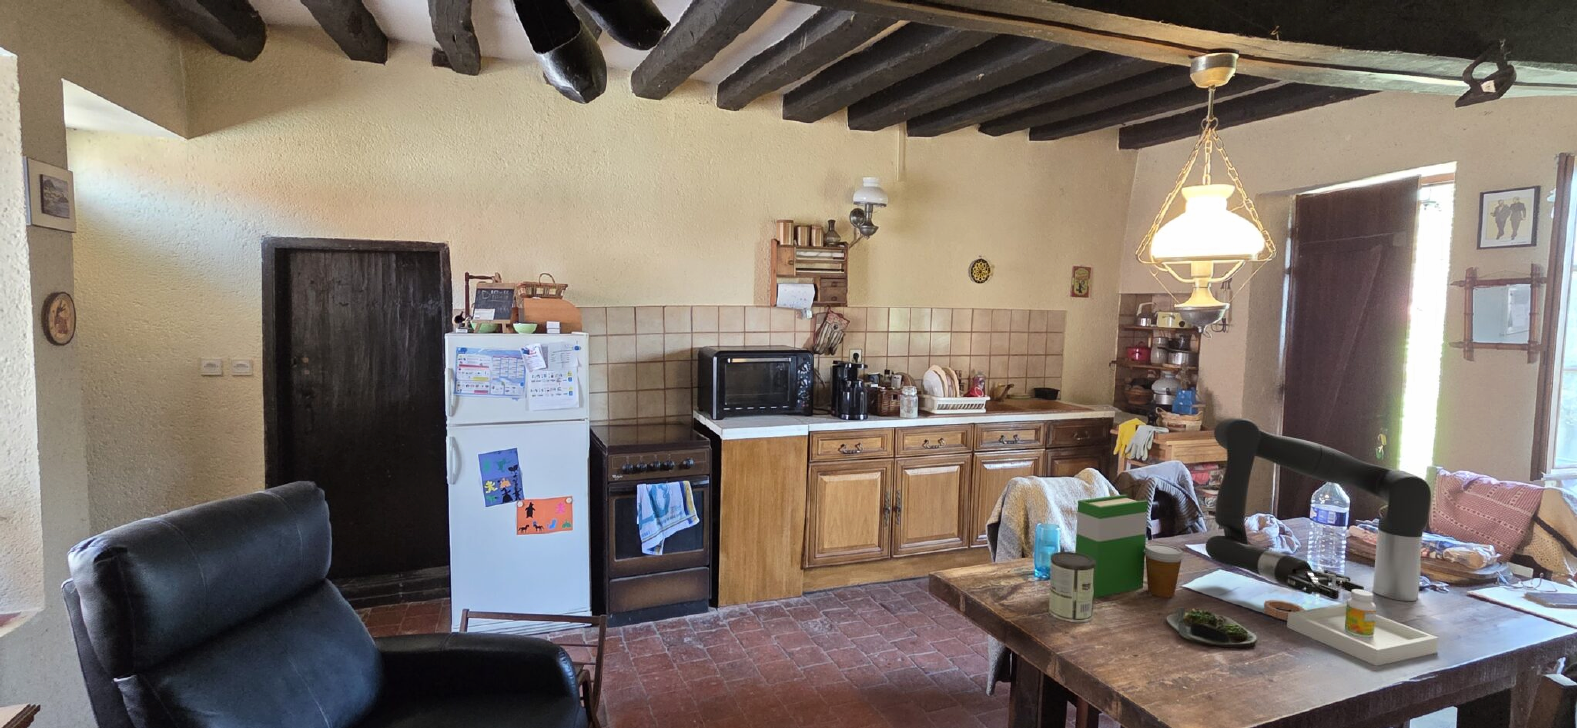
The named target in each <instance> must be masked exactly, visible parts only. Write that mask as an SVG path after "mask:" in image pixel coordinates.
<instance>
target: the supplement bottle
mask: <svg viewBox="0 0 1577 728" xmlns="http://www.w3.org/2000/svg"><path fill="white" fill-rule="evenodd" d="M1350 595H1351V597H1350V598H1348V599H1347V600H1346V603H1347V606H1346V619H1345V630H1346V631H1347V632H1348V633H1350V634H1352V635H1355V636H1359V637H1364V638H1369V637H1373V635H1374V627H1375V615H1376V614H1377V607H1376V604H1375V603H1374V602H1373V600H1374V593H1372V592H1371V591H1368V590H1365V589H1364V590H1360V589H1353V590H1352V591H1351V592H1350Z"/></svg>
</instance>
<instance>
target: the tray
mask: <svg viewBox="0 0 1577 728" xmlns="http://www.w3.org/2000/svg"><path fill="white" fill-rule="evenodd" d="M1346 606H1347V602H1345V603H1340V604H1333V605H1327V606H1324V607H1323V606H1322V607H1316V608H1310V609H1305V610H1303V611H1297V612H1292V611H1291V612H1292V613H1288V620H1286V621H1287V622H1286V628H1288V629H1290V630H1292V631H1295V632H1297V633H1299V634H1302V635H1304V636H1306V637H1308V638H1311V639H1313V640H1315V641H1317V642H1320V643H1323V644H1325V645H1327V646H1330V647H1332V648H1334V649H1336V650H1339V651H1341V652H1344V653H1346V654H1348V655H1350V656H1353V657H1355V658H1357V659H1359V660H1362V661H1363V662H1366V663H1369V664H1371V663H1372V664H1371V665H1373V666H1376V667H1377V666H1382V665H1387V664H1391V663H1395V662H1401V661H1405V660H1411V659H1415V658H1419V657H1424V656H1429V655H1434V654H1437V653H1438V652H1439V651H1438V649H1439V637H1438V636H1435V635H1433V634H1429V633H1427V632H1425V631H1422V630H1419V629H1416V628H1414V627H1411V626H1408V625H1406V624H1404V623H1400V622H1397V621H1396V620H1392V619H1390V618H1387V617H1385V616H1381V615H1379V614H1377V613H1376V615H1375V627H1374V635H1373V637H1369V638H1364V637H1359V636H1355V635H1352V634H1350V633H1348V632H1347V631H1346V630H1345V619H1346ZM1433 653H1434V654H1433ZM1386 663H1387V664H1386Z"/></svg>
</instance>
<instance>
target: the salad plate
mask: <svg viewBox="0 0 1577 728" xmlns="http://www.w3.org/2000/svg"><path fill="white" fill-rule="evenodd" d="M1166 621H1167V623H1168V624H1169V626H1171V627H1172V628H1173V629H1174V630H1175V631H1176V632H1178V633H1179V636H1180V637H1182V638H1184V639H1186V640H1187V641H1188V642H1190V643H1193V644H1196V645H1199V646H1203V647H1206V648H1213V649H1226V650H1227V649H1228V650H1229V649H1231V650H1233V649H1234V650H1241V649H1242V650H1243V649H1249V648H1252V647H1254V646H1255V644H1256V643H1257V642H1258V636H1257V635H1256V634H1255V633H1253V632H1252V631H1250V630H1248V628H1247V629H1246V628H1245V627H1243V626H1242V625H1241V624H1240V623H1238V622H1237V621H1235V620H1234V619H1232V618H1230V617H1227V616H1225V615H1220V614H1215V613H1211V611H1209V610H1206V609H1205V610H1195V608H1193V607H1192V608H1191V610H1190V611H1189V612H1187V609H1186V608H1184V607H1183V606H1178V607H1177V613H1172V614H1169V615H1168V616H1166Z"/></svg>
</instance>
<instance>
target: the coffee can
mask: <svg viewBox="0 0 1577 728" xmlns="http://www.w3.org/2000/svg"><path fill="white" fill-rule="evenodd" d="M1095 563H1096V562H1095V560H1094V559H1093V558H1091V557H1089V556H1087V555H1084V554H1079V553H1075V552H1073V551H1072V552H1071V551H1061V552H1060V551H1059V552H1054V553H1052V554H1050V576H1049V578H1050V579H1049V581H1050V582H1049V602H1048V603H1049V606H1048V613H1049V614H1050V615H1051V616H1052V617H1054V618H1056V619H1059V620H1061V621H1064V620H1065V621H1064V622H1068V621H1069V622H1068V623H1076V624H1077V623H1087V622H1090V621H1091V620H1092V619H1093V617H1094V616H1093V613H1094V612H1093V611H1094V610H1093V609H1094V597H1093V591H1094V569H1095Z"/></svg>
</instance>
